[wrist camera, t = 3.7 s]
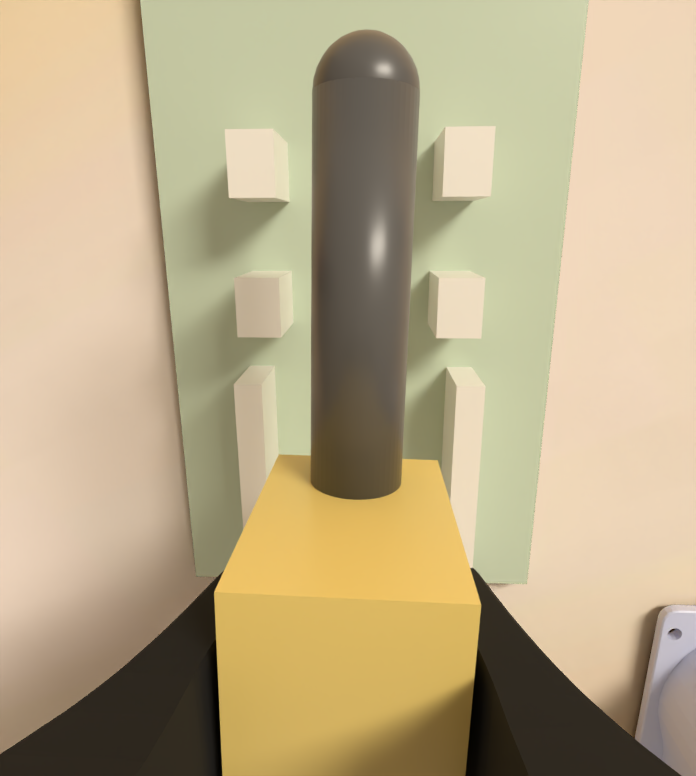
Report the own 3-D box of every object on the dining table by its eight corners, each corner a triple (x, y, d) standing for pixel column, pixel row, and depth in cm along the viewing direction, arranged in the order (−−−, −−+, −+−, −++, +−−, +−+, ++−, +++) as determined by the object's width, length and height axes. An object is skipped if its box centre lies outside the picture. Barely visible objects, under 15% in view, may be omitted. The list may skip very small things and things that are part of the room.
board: (522, 573, 20) (547, 632, 17) (201, 566, 20) (173, 622, 18) (589, -80, 14) (644, -158, 11) (141, -68, 15) (86, -139, 12)
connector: (426, 636, 13) (456, 865, 8) (281, 628, 13) (226, 850, 8) (464, 58, 10) (549, -125, 5) (274, 58, 10) (180, -123, 5)
